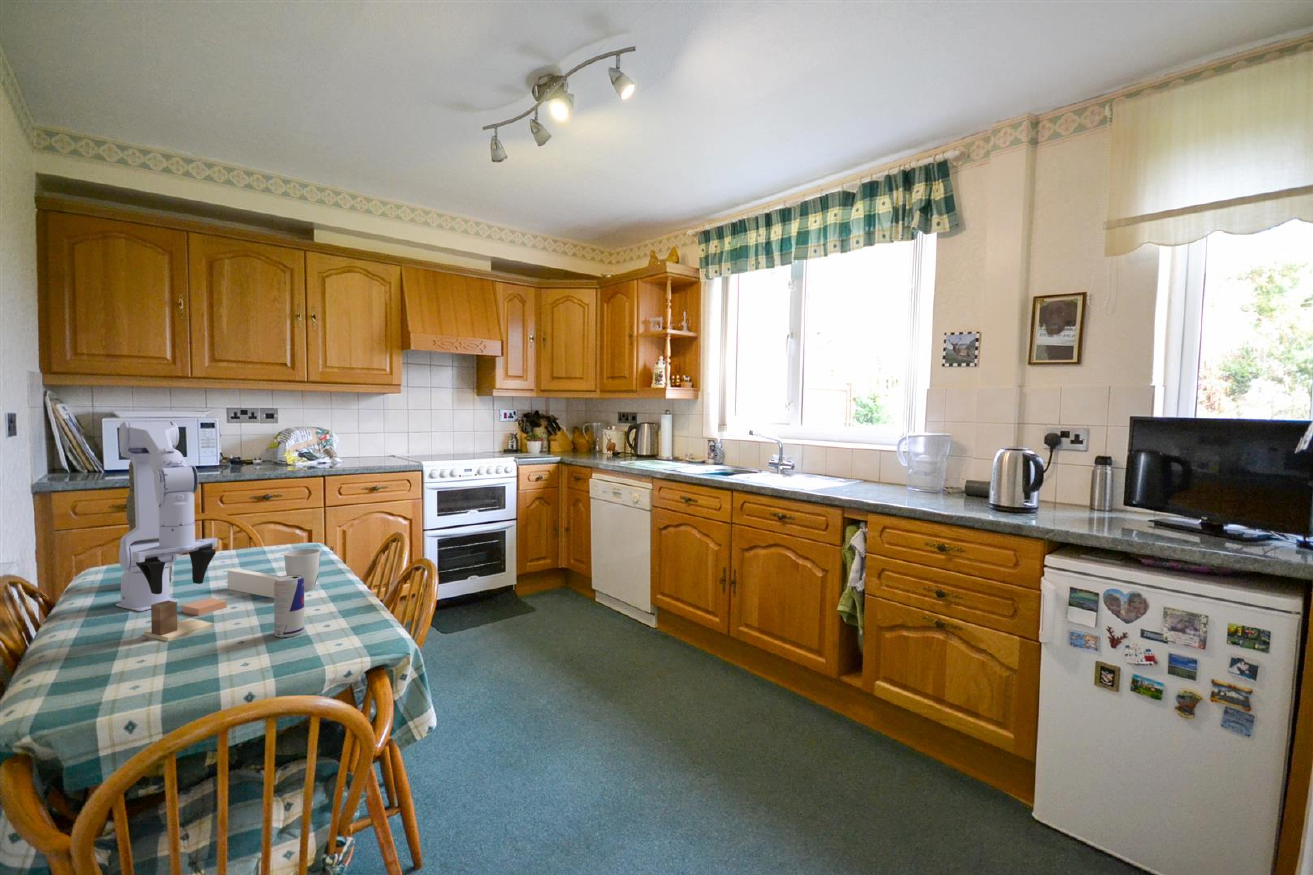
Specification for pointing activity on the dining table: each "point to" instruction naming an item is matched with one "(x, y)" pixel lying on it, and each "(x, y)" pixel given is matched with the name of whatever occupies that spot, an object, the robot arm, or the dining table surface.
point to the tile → (204, 606)
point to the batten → (251, 582)
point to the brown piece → (172, 623)
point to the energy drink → (288, 605)
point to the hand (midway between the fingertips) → (177, 588)
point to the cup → (304, 565)
